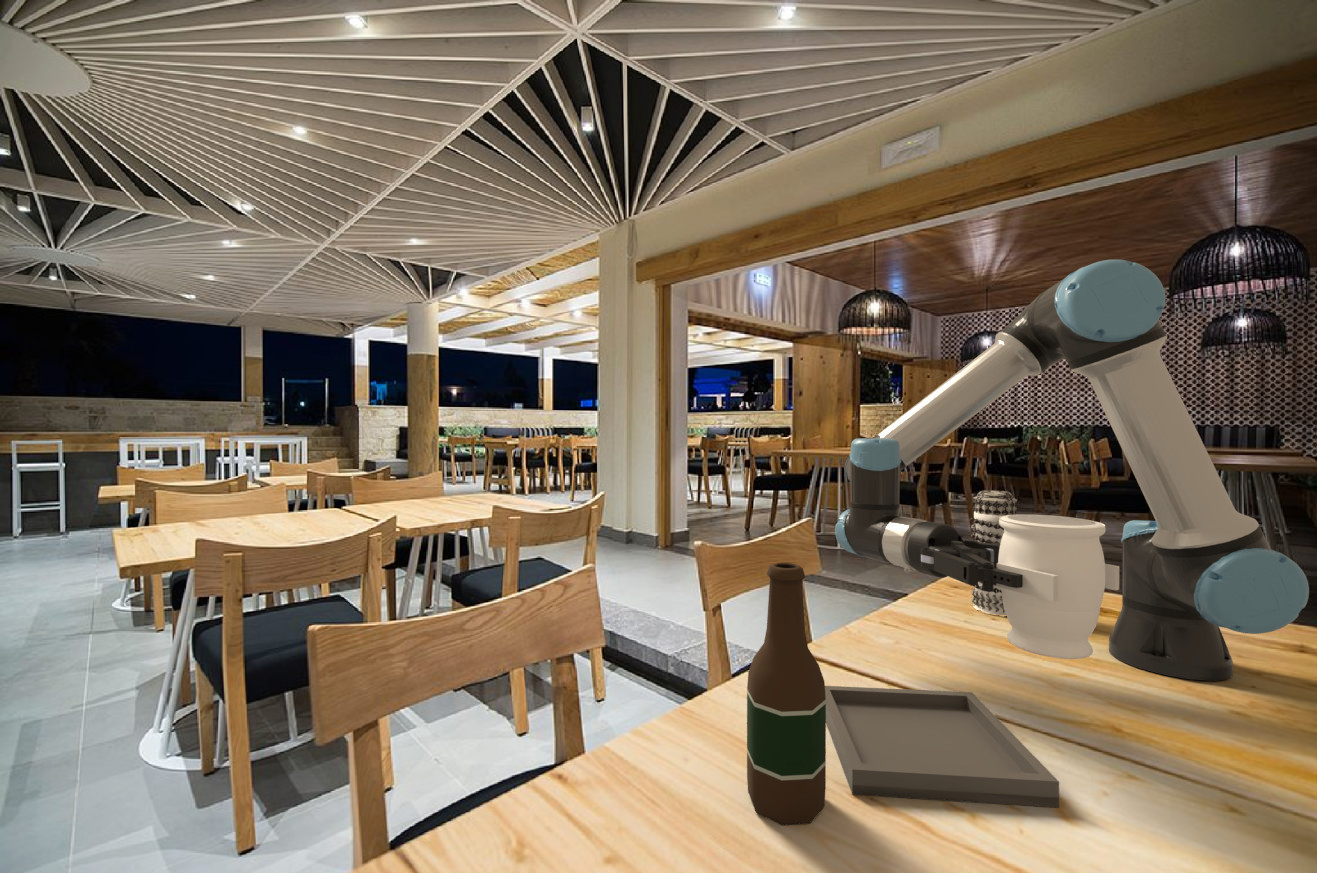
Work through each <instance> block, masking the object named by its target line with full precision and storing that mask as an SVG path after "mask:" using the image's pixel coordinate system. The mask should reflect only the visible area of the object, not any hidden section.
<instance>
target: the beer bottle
mask: <svg viewBox="0 0 1317 873" xmlns="http://www.w3.org/2000/svg"><path fill="white" fill-rule="evenodd" d="M766 576H768V577H769V589H768V602H767V604H768V605H767V618H766V619H767V620H766V622H767V623H766V631H765V636H764V641H763V644H762V645H761V646H760V648H759V649H758V651H757V652H756V654H755V655H754V656H753V658H752V661H751V663H750V666H749V670H748V675H747V686H746V689H747V690H746V777H747V778H746V780H747V781H746V782H747V793H748V795H749V798H750V800H751V803H752V805H753V808H754V811H755V812H756V814H757V815H759V816H761V817H764V818H765V819H768V820H770V821H772V822H774V823H776V824H778V825H779V826H794V825H796V826H799V825H811V823H812V822H813V821H814V820H815V819H816V818H817V817H818V815H819V814H821V813H822V811H823V809H824V807H825V805H826V791H827V790H826V788H827V787H826V785H827V783H826V781H827V780H826V775H827V773H826V772H827V771H826V766H827V765H826V764H827V763H826V760H827V756H826V755H827V754H826V751H827V750H826V749H827V747H826V746H827V745H826V742H827V740H826V737H827V736H826V735H827V733H826V731H827V725H826V696H825V686H826V685H825V679H824V676H823V673H822V670H821V668H820V665H819V663H818V661H817V659H816V658H815V657H814V655H813V653H812V652H811V650H810V648H809V647H808V640H807V635H806V625H805V609H804V594H803V591H804V590H803V580H804V579H805V578H806V575H805V572H804V567H801V566H800V565H799V564H797V563H792V562H777V563H773V564H771V565H769V566H768V569H767V572H766Z"/></svg>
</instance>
